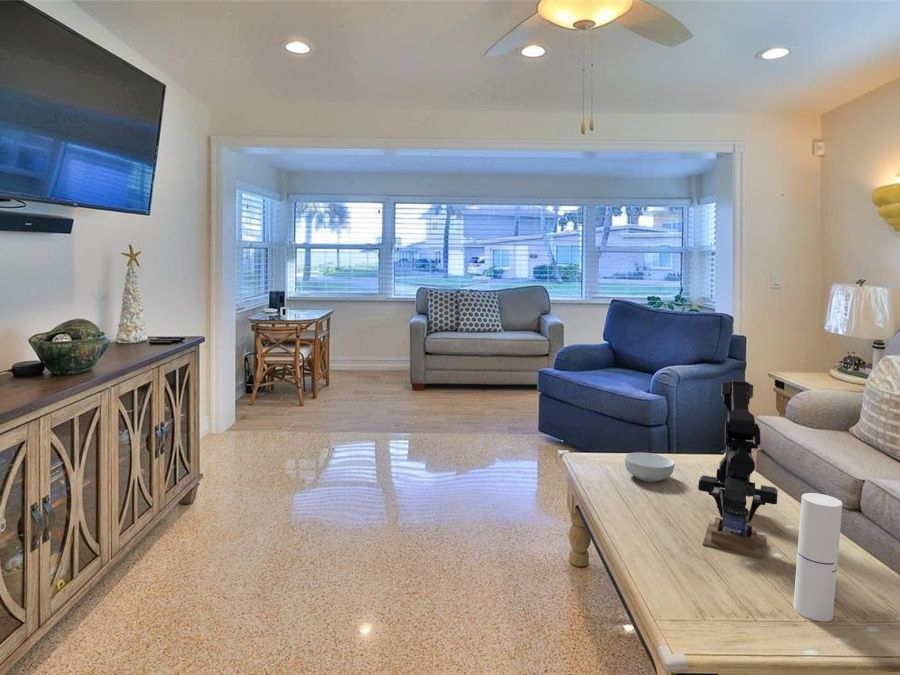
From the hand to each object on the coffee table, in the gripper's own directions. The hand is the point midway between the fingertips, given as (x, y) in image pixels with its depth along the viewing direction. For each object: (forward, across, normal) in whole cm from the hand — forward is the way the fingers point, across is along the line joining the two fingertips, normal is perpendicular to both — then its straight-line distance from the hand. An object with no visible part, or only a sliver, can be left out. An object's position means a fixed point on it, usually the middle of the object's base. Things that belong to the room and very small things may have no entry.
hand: (735, 519), depth 150 cm
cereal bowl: (+7, -30, +38) cm, 49 cm away
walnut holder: (+6, 0, 0) cm, 6 cm away
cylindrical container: (+6, +17, -27) cm, 33 cm away
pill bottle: (+5, 0, 0) cm, 5 cm away
